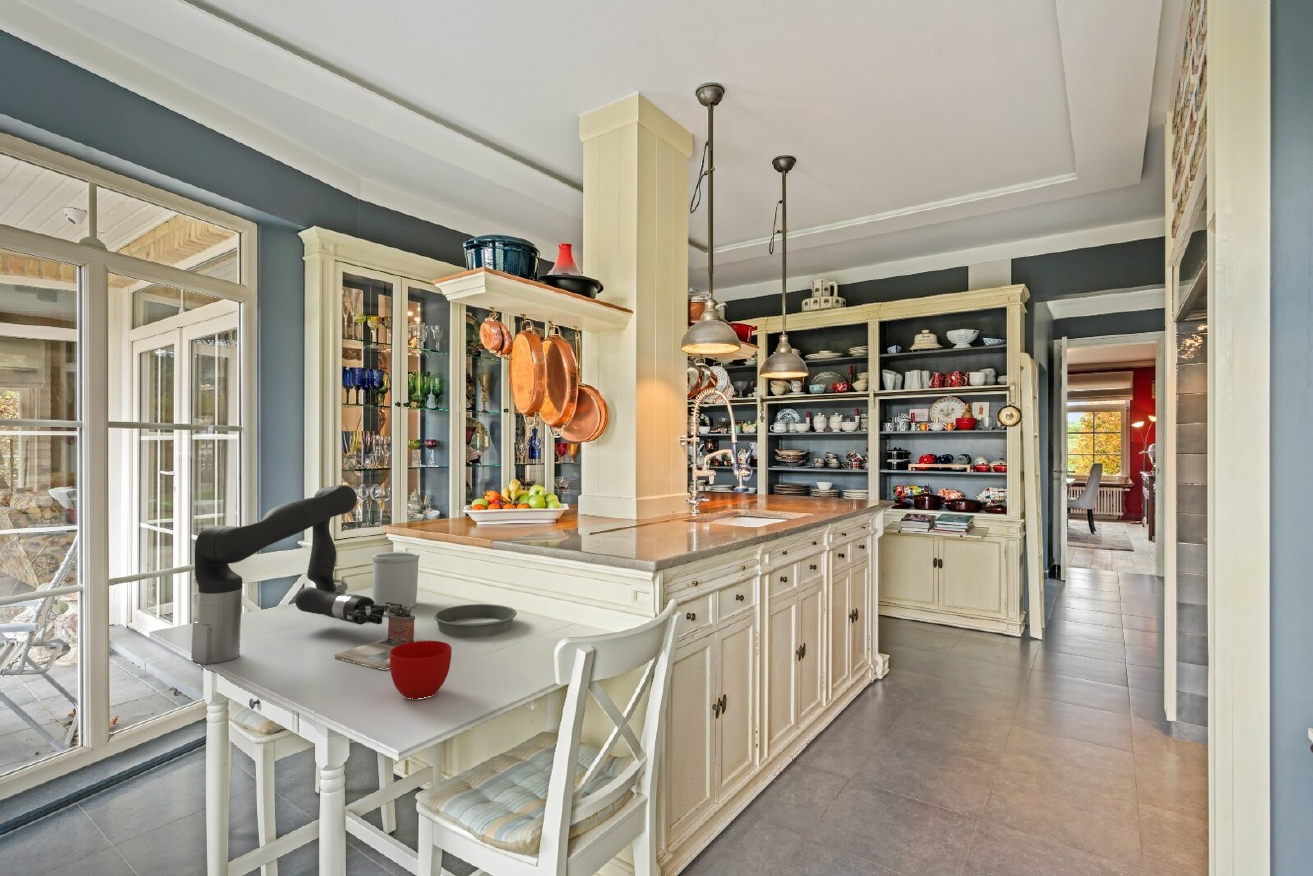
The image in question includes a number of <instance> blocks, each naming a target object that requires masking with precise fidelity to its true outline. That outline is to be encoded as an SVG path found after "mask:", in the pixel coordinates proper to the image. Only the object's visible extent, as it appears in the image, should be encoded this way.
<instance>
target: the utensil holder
mask: <svg viewBox="0 0 1313 876" xmlns="http://www.w3.org/2000/svg"><path fill="white" fill-rule="evenodd" d="M371 559H372V562H373V564H372V600H373V601H374V603H375V604H385V603H387V602H390V603H396V604H402V606H406V607H407V608H411V609H412V608H413V607H416V605H417V596H418V595H417V594H418V579H419V578H418V576H419V559H420V553H419V552H416V551H390V552H379V553H375V554H373V555H372V558H371Z"/></svg>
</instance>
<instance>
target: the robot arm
mask: <svg viewBox="0 0 1313 876" xmlns="http://www.w3.org/2000/svg"><path fill="white" fill-rule="evenodd" d="M357 501H358V495H357V492H356V491H355V490H354V489H353V488H352V487H351V486H348V485H343V484H339V485H338V484H337V485H332V486H327V487H322V488H320V489H318V490H317V491H316V492H315V494H314V496H313V497H309V498H308V497H307V498H303V499H297V500H294V501H293V500H292V501H289V502H286V503H283V504H280V505H278V506H276V507H273V508H271V509H269V510H267V512H266V513H265V514H264V516H263V517H262V519H261V520H260V521H257V522H254V523H251V524H247V525H242V526H232V525H231V526H228V525H209V526H207V527H205V528H203V529H202V530H201V531H200V532H199V534H198V535H197V537H196V540H195V544H194V577H195V581H196V584H197V586H198V589H197V592H198V593H197V612H196V621H194V622H193V623H192V634H191V635H192V636H191V639H192V640H191V656H190V657H191V658H190V659H193V660H191V662H195V663H199V664H203V665H210V664H217V663H223V662H228V661H231V660H234V659H237V658H238V657H239V656H240V650H241V649H240V648H241V629H242V628H241V625H242V624H241V623H242V606H243V605H242V601H243V578H242V576H241V575H239V574H237V573H236V572H235V571H234V570H232V569H231V568H230V566H229V564H235V563H239V562H242V561H244V560H245V559H248V558H249V557H251V556H252V555H255V554H256V553H257V552H259V551H261V550H263V549H264V548H267V547H268V546H271V545H274V544H275V543H278V542H280V541H282V540H285V539H287V538H290V537H292V536H294V535H297V534H299V533H302V532H303V531H306V530H308V529H309V528H312V541H311V543H312V545H311V550H310V551H311V552H310V557H309V563H308V567H307V574H306V576H307V579H308V580H310V581H311V582H313V583H314V584H315V587H312V586H308V587H304V588H303V589H301V590H300V591H299V592H298V593H297V594H296V596H295V598H294V599H295V600H294V602H295V606H296V608H297V610H299V611H301V612H304V613H311V614H316V615H323V616H327V617H330V618H334V619H338V620H339V621H342V622H348V623H352V624H356V625H360V626H361V625H364V624H376V625H381V624H382V623H383V618H384V619H385V618H388V614H392V613H395V611H391V607H392V606H393V605H394V606H400V607H402V604H396V603H390V602H387V603H385V604H375V603H374V601H373V598H371V597H370V596H364V595H358V594H353V593H345V594H344V593H338V592H335V587H334V580H335V579H334V571H335V566H336V560H337V549H336V546H335V543H334V541H333V538H332V535H331V532H330V523H331V520H332V518H333V517H337V516H340V515H345V514H348V513H350V512H351V511H352V510H353V509H354V508H355V506H356V505H357ZM385 613H386V614H385Z"/></svg>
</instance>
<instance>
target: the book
mask: <svg viewBox="0 0 1313 876" xmlns="http://www.w3.org/2000/svg"><path fill="white" fill-rule="evenodd" d="M387 639H388V637H386V638H383V639H380V640H377V641H373V642H370V643H367V644H364V645H361V646H358V647H354V648H350V649H348V650H345V651H341V652H339V653H335V654H334V659H335V658H338V659H337V660H339V659H344V660H348V661H351V662H355V663H359V664H365V665H369V666H372V667H375V668H382V669H386V668H390V651H391V650H392V649H393V648H394V647H396V646H398V645H394V644H389V643H387ZM351 662H350V663H351ZM355 663H354V664H355ZM359 664H358V665H359ZM375 668H374V669H375Z"/></svg>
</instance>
